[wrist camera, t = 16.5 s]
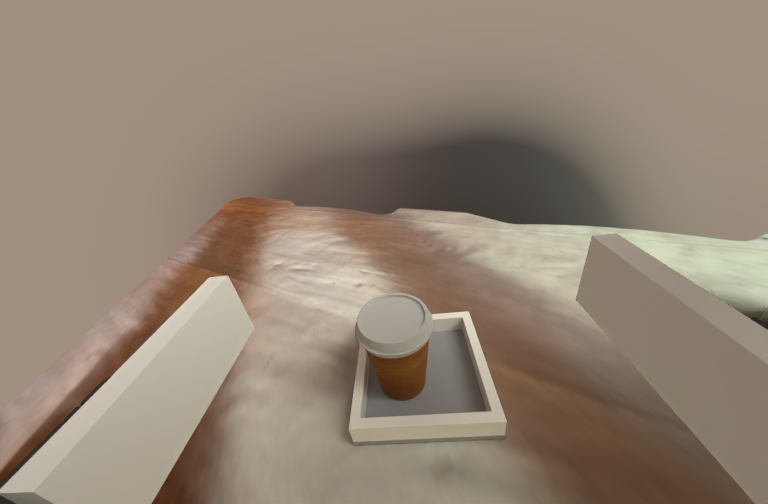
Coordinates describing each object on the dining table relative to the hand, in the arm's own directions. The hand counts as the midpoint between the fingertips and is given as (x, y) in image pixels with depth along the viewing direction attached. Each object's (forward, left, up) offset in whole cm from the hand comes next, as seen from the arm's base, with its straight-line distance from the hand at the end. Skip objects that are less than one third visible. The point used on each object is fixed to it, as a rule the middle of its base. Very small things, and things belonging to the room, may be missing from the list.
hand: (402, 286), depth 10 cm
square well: (0, -17, -29) cm, 34 cm away
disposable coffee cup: (+2, -17, -29) cm, 33 cm away
